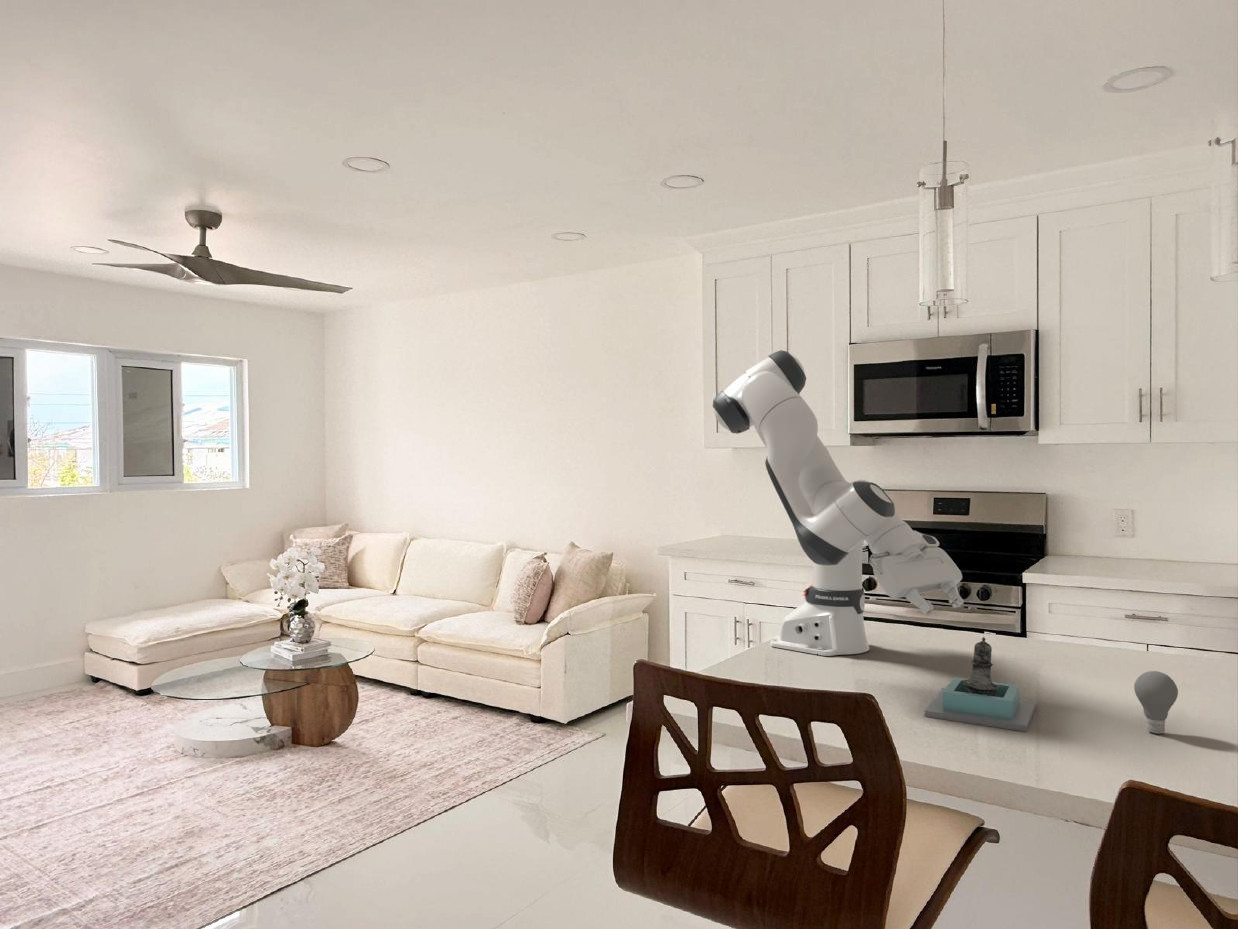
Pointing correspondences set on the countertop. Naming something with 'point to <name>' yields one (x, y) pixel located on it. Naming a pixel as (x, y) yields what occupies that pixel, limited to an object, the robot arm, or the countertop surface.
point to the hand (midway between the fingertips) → (944, 608)
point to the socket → (983, 706)
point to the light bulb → (1155, 698)
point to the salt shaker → (981, 671)
